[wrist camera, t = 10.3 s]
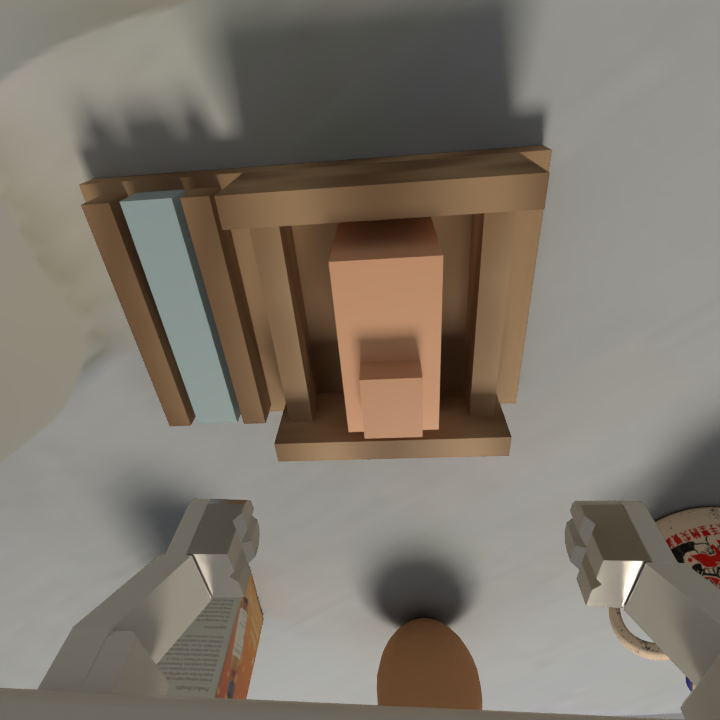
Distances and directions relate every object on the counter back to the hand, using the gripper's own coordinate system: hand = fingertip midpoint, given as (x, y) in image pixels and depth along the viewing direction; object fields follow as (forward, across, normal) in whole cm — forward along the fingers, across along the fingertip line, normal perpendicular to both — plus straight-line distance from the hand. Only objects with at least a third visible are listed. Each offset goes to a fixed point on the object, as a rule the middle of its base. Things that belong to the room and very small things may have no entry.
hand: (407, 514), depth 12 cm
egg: (+14, -1, +33) cm, 36 cm away
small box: (+14, +16, +28) cm, 35 cm away
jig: (+14, +4, 0) cm, 14 cm away
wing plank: (+12, +10, 0) cm, 16 cm away
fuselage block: (+12, +1, 0) cm, 13 cm away
